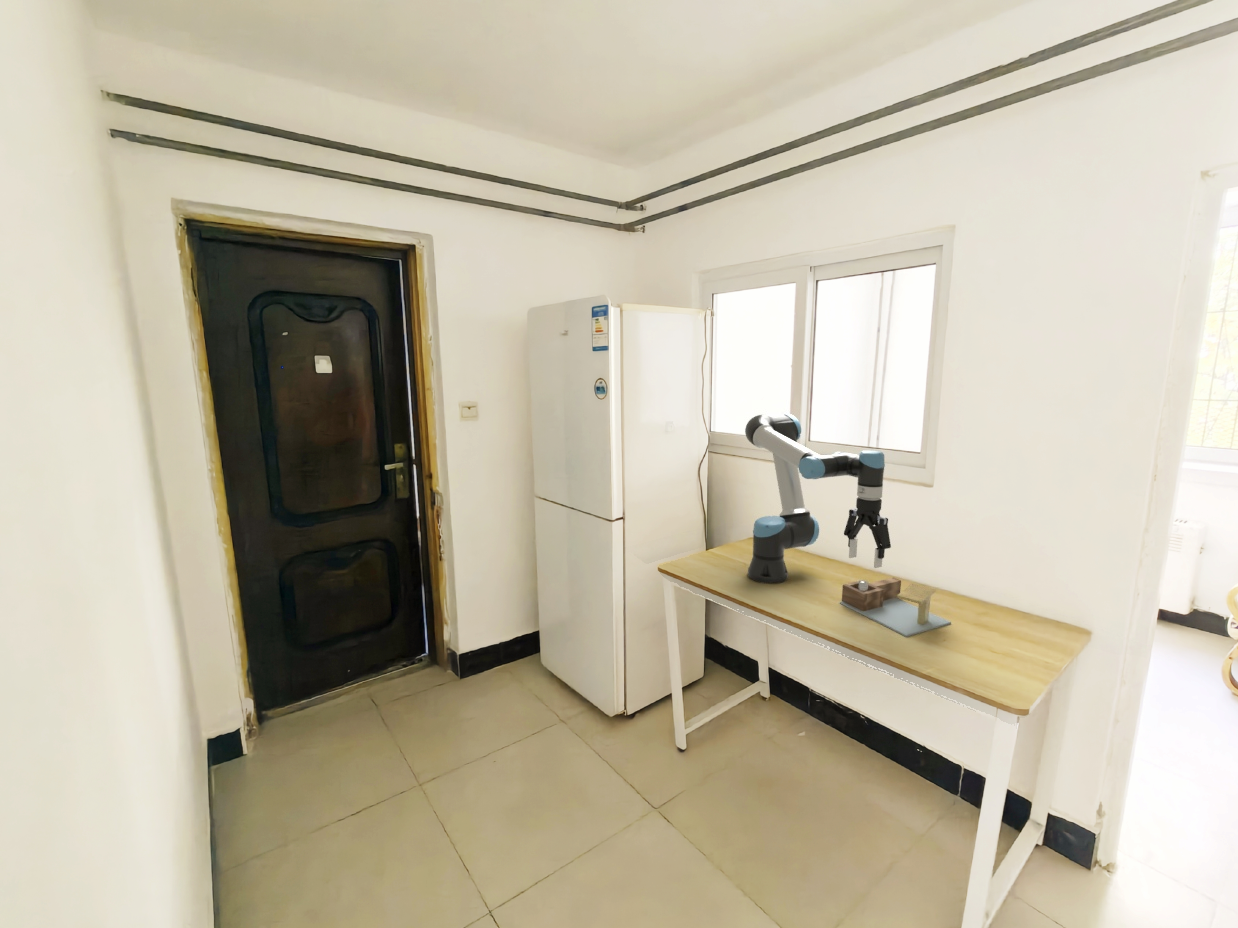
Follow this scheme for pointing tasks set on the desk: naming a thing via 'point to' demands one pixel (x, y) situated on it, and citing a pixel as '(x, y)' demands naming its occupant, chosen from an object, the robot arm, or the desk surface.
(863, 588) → the cylinder
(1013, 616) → the desk surface
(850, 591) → the link
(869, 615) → the board
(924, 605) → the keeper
